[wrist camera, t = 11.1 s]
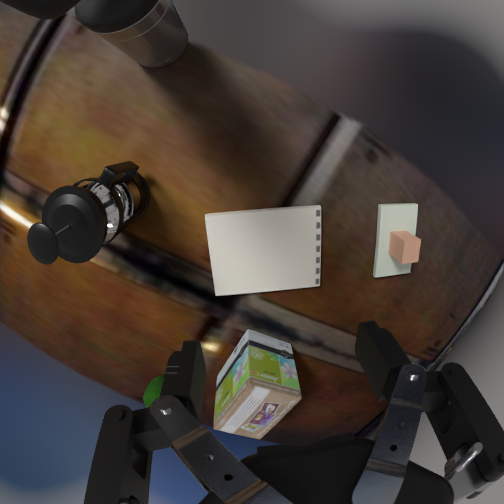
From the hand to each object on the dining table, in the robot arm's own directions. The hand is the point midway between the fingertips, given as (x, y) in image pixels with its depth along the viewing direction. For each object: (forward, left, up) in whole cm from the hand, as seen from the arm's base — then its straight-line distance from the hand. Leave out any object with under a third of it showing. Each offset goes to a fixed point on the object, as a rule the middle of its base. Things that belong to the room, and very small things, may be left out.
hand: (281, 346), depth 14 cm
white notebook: (+8, +2, -33) cm, 34 cm away
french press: (-4, -20, -33) cm, 39 cm away
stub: (+8, +26, -33) cm, 42 cm away
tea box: (+32, -2, -33) cm, 46 cm away
